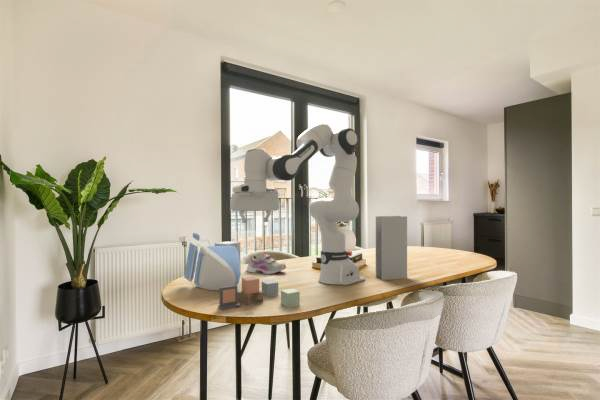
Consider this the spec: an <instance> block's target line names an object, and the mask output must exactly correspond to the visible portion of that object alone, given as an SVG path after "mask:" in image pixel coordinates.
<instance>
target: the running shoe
mask: <svg viewBox="0 0 600 400" xmlns="http://www.w3.org/2000/svg"><path fill="white" fill-rule="evenodd" d="M286 268H287V266H286V263H279V262H277V261H276V259H274V258H272V257H271V255H270V254H267V253H262V252H261V253H260V254H259V255H258V256H257V254H255V253H254V254H251V255H250V256H249V260H248V264H247V265H246V272H248V273H259V272H261V273H262V274H266V275H273V274H276V273H279V272H281V271H284V270H285V269H286Z"/></svg>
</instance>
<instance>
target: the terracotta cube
mask: <svg viewBox="0 0 600 400" xmlns="http://www.w3.org/2000/svg"><path fill="white" fill-rule="evenodd" d="M241 291H242V292H244V293H246V294H252V293H258V292H259V291H260V278H258V277H257V276H254V275H253V276H252V275H251V276H246V277H241Z"/></svg>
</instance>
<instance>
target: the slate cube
mask: <svg viewBox="0 0 600 400" xmlns="http://www.w3.org/2000/svg"><path fill="white" fill-rule="evenodd" d="M261 291H262V292H263V296H265V297H273V296H277V295H278V296H279V282H278V281H276V280H274V279H270V280H263V281H261Z"/></svg>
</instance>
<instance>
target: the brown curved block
mask: <svg viewBox="0 0 600 400" xmlns="http://www.w3.org/2000/svg"><path fill="white" fill-rule="evenodd" d="M263 302H264V295H263V292H262V290H259V292H258V293H252V294H246V293H244V292H242V290H239V291H238V290H237V303H239V304H242V305H245V306H247V307H248V306H253V305H256V304H259V303H263Z"/></svg>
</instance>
